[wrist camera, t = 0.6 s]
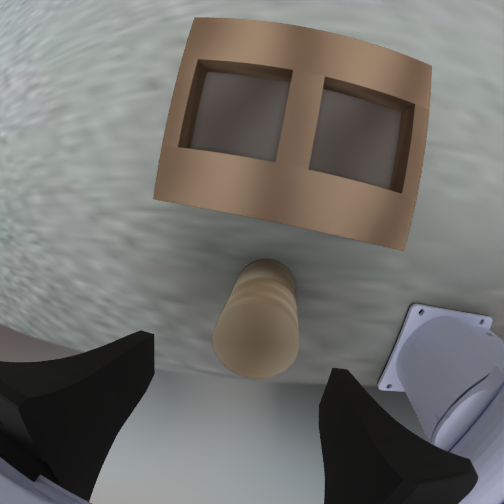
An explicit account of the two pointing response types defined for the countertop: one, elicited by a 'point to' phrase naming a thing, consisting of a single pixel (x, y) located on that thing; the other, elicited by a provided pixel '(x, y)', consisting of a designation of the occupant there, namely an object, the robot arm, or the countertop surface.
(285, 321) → the beech pin
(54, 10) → the countertop surface
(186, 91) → the block
